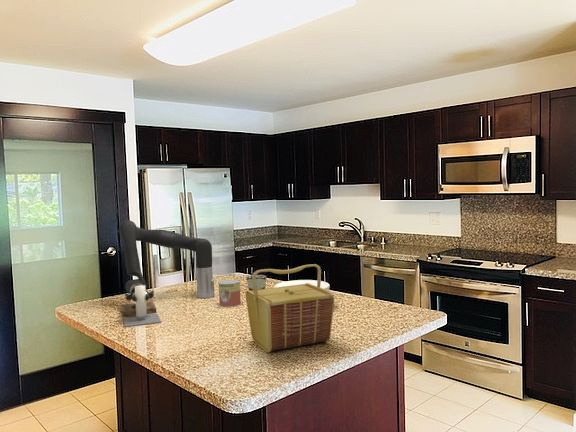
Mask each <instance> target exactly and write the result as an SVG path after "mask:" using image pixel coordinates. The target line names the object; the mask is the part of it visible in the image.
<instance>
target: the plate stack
mask: <svg viewBox="0 0 576 432" xmlns="http://www.w3.org/2000/svg"><path fill="white" fill-rule="evenodd" d="M306 283H309V284H312V285H315V286H317V280H315V279H314V280H313V279H297V280H296V279H295V280H288V281H282V282H278V283H277V284H275V285H274V287H273V288H276V287H284V286H292V285H300V284H306ZM330 285H331V284H329V283H328V282H326V281H323V280H321V283H320V288H322V289H325V290H328V291H330V292H331V289H330V288H331V287H330Z"/></svg>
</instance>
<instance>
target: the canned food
mask: <svg viewBox="0 0 576 432" xmlns="http://www.w3.org/2000/svg"><path fill="white" fill-rule="evenodd" d="M240 282H241V281H240V280H239V279H238V280H237V279H224V280H221V281H219V282H218V296H219V307H223V308H224V307H225V308H230V307H233V308H234V307H236V306H237V307H238V306H240V305H241V304H242V303H241V301H242V300H241V283H240Z"/></svg>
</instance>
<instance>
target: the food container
mask: <svg viewBox="0 0 576 432" xmlns="http://www.w3.org/2000/svg"><path fill="white" fill-rule="evenodd" d="M252 277H253V274H252V275H247V276H246V277H245V280H246V283H247V289H248V290H249V291H251V290H254V288H253V280H252ZM267 280H268V279H267V276H266V275H264V274H257V275H256V285H257V290H259V289H266V282H267Z"/></svg>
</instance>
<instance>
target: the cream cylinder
mask: <svg viewBox="0 0 576 432" xmlns="http://www.w3.org/2000/svg"><path fill="white" fill-rule="evenodd" d="M146 291H147V289H146V290H145V285H138V286H135V297H136V302H135V303H136V315H135V316H137V317H143V316H146V315H148V314H147V310H146V302H147V300H146Z"/></svg>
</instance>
